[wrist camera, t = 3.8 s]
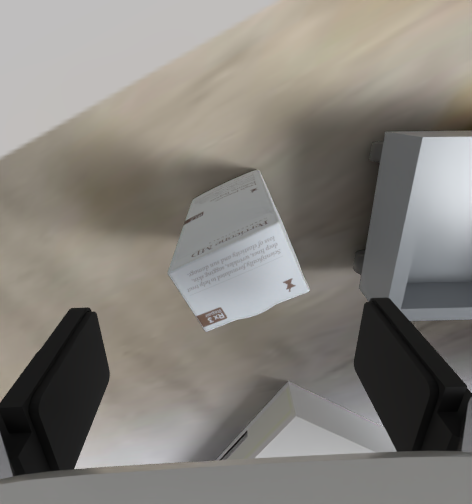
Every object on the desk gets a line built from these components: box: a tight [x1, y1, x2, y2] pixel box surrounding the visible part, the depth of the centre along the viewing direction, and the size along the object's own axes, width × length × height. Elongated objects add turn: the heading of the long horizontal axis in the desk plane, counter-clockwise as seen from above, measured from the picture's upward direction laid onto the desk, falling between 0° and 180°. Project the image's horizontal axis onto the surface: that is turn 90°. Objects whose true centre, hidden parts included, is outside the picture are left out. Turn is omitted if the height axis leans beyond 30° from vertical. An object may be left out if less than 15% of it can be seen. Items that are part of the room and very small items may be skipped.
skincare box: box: [168, 170, 310, 332], centre depth 21 cm, size 6×4×12 cm
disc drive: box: [216, 381, 397, 460], centre depth 38 cm, size 18×22×5 cm
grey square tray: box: [353, 131, 472, 321], centre depth 23 cm, size 12×12×8 cm
